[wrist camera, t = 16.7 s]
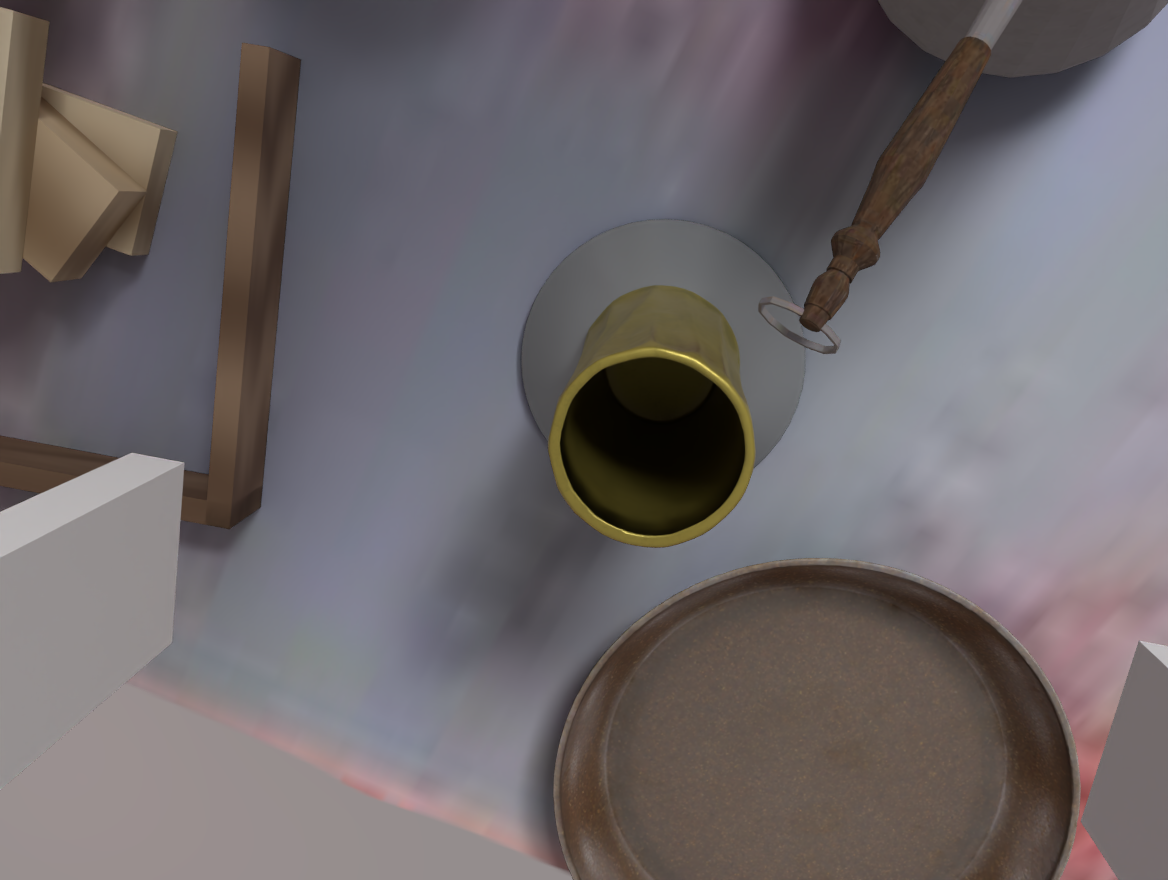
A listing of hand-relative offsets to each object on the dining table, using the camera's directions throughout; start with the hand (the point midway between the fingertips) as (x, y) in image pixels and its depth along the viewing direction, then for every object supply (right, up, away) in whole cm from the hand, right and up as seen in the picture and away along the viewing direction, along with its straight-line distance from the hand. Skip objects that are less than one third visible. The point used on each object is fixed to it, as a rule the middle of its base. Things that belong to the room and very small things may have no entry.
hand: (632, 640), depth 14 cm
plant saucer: (+9, -11, +29) cm, 33 cm away
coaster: (+2, +6, +26) cm, 26 cm away
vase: (+2, +6, +25) cm, 26 cm away
